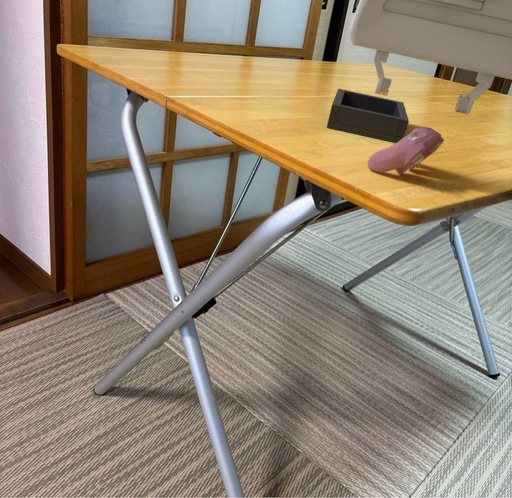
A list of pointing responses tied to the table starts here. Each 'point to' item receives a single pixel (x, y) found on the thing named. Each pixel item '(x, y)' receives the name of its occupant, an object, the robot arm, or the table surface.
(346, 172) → the table surface
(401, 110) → the open box
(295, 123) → the table surface
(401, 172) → the video game controller
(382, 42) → the robot arm
